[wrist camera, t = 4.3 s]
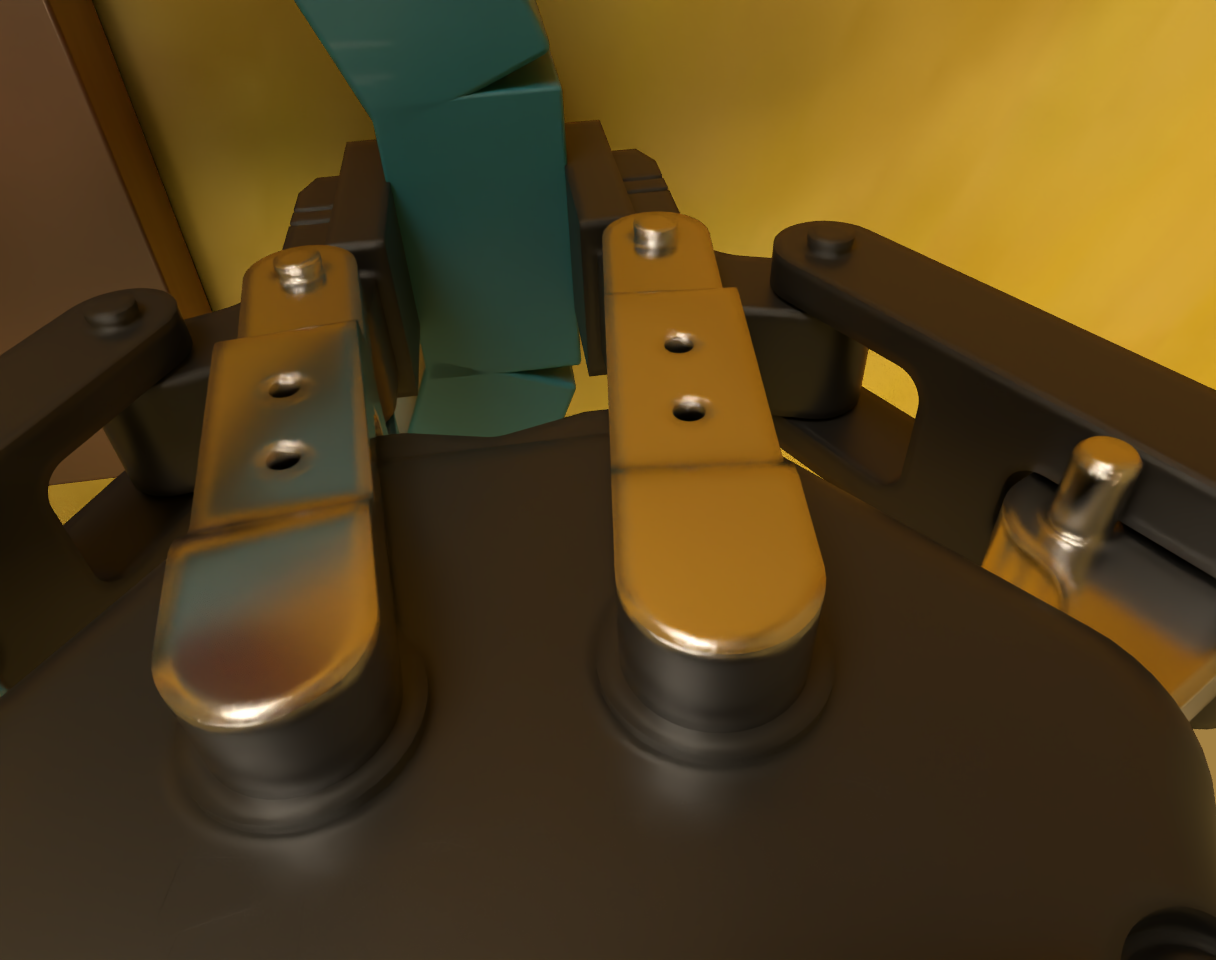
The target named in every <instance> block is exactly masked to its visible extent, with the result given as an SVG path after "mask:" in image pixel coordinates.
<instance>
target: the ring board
mask: <svg viewBox="0 0 1216 960" xmlns="http://www.w3.org/2000/svg"><path fill="white" fill-rule="evenodd" d="M133 288H150V289H157V290H162V291H165V292H167V293H169V294H170V295H172V296H173V297H174V298H175V300H176V301H177V304H178V306H179V309H180V311H181V313H182V316H183V318H184V319H188V318H192V317H196V316H199V315H203V314H207V313H211V312H212V311H211V309H210V306H209V303H208V301H207V298H206V296H205V293H204V290H203V288H202V285H201V283H200V280H199V277H198V275H197V272H196V270H195V267H194V264H193V262H192V259H191V257H190V254H189V251H188V249H187V246H186V244H185V241H184V238H183V236H182V233H181V231H180V228H179V226H178V223H177V220H176V218H175V215H174V213H173V210H172V207H171V205H170V202H169V200H168V197H167V194H166V192H165V189H164V187H163V184H162V181H161V179H160V176H159V174H158V171H157V168H156V166H155V163H154V161H153V158H152V155H151V153H150V150H149V148H148V145H147V143H146V140H145V137H144V135H143V132H142V130H141V127H140V124H139V122H138V119H137V117H136V114H135V111H134V109H133V106H132V104H131V101H130V98H129V96H128V93H127V91H126V88H125V85H124V83H123V80H122V78H121V75H120V72H119V70H118V67H117V65H116V62H115V59H114V57H113V54H112V52H111V49H110V47H109V44H108V41H107V39H106V36H105V34H104V31H103V28H102V26H101V23H100V21H99V18H98V15H97V13H96V10H95V8H94V5H93V2H92V0H0V355H2V354H3V353H5V352H6V351H8V350H9V349H11V348H12V347H14V346H15V345H17V344H18V343H20V342H21V341H23V340H24V339H26V338H27V337H28V336H30V335H31V334H33V333H34V332H36V331H37V330H39V329H40V328H42V327H43V326H45V325H46V324H48V323H49V322H51V321H52V320H54V319H55V318H57V317H58V316H60V315H61V314H63V313H64V312H66V311H67V310H69V309H70V308H72V307H74V306H75V305H77V304H79V303H81V302H83V301H85V300H88V299H91V298H93V297H96V296H99V295H102V294H105V293H109V292H113V291H118V290H124V289H133ZM124 470H125V469H124V467H123V465H122V463H121V461H120V460H119V458H118V456H117V454H116V452H115V450H114V448H113V447H112V445H111V443H110V441H109V439H108V437H107V435H106V434H105V432H104V430H103V428H101V429H100V430H99V431H98V432H97V433H95V434H94V435H93V436H92V437H90V438H89V439H88V440H87V441H86V442H84V443H83V444H82V445H81V446H80V447H78V448H77V449H76V450H75V451H74V452H72V453H71V454H70V455H69V456H67V457H66V458H65V459H64V460H63V461H62V462H61V463H60V464H59V465H58V466H57V467H56V469H55V470H54V472H53V474H52V476H51V478H50V481H49V485H57V484H65V483H73V482H82V481H90V480H98V479H107V478H115V477H118V476H119V475H120V474H121V473H122V472H123V471H124Z"/></svg>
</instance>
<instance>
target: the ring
mask: <svg viewBox="0 0 1216 960" xmlns="http://www.w3.org/2000/svg"><path fill="white" fill-rule="evenodd" d="M294 1H295V3H296V4H297V6H298V8H299V9H300V11H301V12H302V14H303V15H304V17H305V18H306V20H307V21H308V23H309V24H310V26H311V28H312V29H313V31H314V32H315V34H316V35H317V37H318V38H319V40H320V41H321V43H322V44H323V46H324V48H325V49H326V51H327V52H328V54H329V55H330V57H331V58H332V60H333V61H334V63H335V65H336V66H337V68H338V69H339V71H340V72H341V74H342V75H343V77H344V78H345V80H346V81H347V83H348V85H349V86H350V88H351V89H352V91H353V92H354V94H355V95H356V97H357V98H358V100H359V102H360V103H361V105H362V106H363V108H364V109H365V111H366V112H367V114H368V115H369V117H370V118H371V120H372V122H373V126H374V130H375V135H376V140H377V144H378V149H379V154H380V158H381V163H382V168H383V172H384V177H385V181H386V182H390V185H391V190H392V194H393V199H394V204H395V209H396V214H397V218H398V223H399V228H400V233H401V237H402V242H403V247H404V252H405V257H406V261H407V266H408V271H409V276H410V281H411V285H412V290H413V295H414V300H415V305H416V309H417V314H418V319H419V324H420V352H419V384H418V396H410V397H401V398H397V404H396V409H395V411H394V414H395V418H396V421H397V425H398V429H399V434H400V433H416V434H436V435H457V436H478V437H496V436H502V435H506V434H510V433H513V432H517V431H520V430H524V429H527V428H531V427H534V426H537V425H541V424H544V423H548V422H551V421H555V420H558V419H562V418H564V417H565V414H566V412H567V409H568V407H569V404H570V402H571V399H572V397H573V394H574V392H575V390H576V384H575V379H574V374H573V369H572V365H579V364H580V363H581V350H580V336H579V328H578V323H577V319H576V314H575V307H574V293H573V279H572V264H571V250H570V236H569V222H568V208H567V194H566V180H565V165H567V149H566V135H565V121H564V106H563V92H562V87H561V84H560V81H559V78H558V75H557V71H556V68H555V65H554V62H553V59H552V56H551V52H550V47H549V40H548V37H547V34H546V31H545V28H544V25H543V22H542V19H541V16H540V12H539V9H538V6H537V3H536V0H294Z"/></svg>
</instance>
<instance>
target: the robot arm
mask: <svg viewBox="0 0 1216 960" xmlns="http://www.w3.org/2000/svg"><path fill="white" fill-rule="evenodd" d="M565 135H566V149H567V165H565V180H566V194H567V208H568V222H569V236H570V250H571V264H572V279H573V293H574V307H575V314H576V319H577V323H578V328H579V332H580V337H581V341H582V346H583V350H584V355H585V359H586V364H587V368H588V373H589V376H598V375H607V379H608V405H609V409H606V410H598V411H589V412H583V413H579V414H576V415H572V416H569V417H565V418H562V419H558V420H555V421H551V422H548V423H544V424H541V425H537V426H534V427H531V428H527V429H524V430H520V431H517V432H513V433H510V434H506V435H502V436H496V437H478V436H457V435H436V434H416V433H400V434H399V429H398V425H397V421H396V418H395V414H394V411H395V409H396V404H397V398H401V397H410V396H418V384H419V352H420V324H419V319H418V314H417V309H416V305H415V300H414V295H413V290H412V285H411V281H410V276H409V271H408V266H407V261H406V257H405V252H404V247H403V242H402V237H401V233H400V228H399V223H398V218H397V214H396V209H395V204H394V199H393V194H392V190H391V185H390V182H386V181H385V177H384V172H383V168H382V163H381V158H380V154H379V149H378V144H377V140H365V141H354V142H347V143H346V147H345V152H344V156H343V161H342V166H341V170H340V175H339V176H332V177H321V178H316V179H315V180H314V181H313V182H311V183H310V184H309V185H308V186H307V187H306V188H304V189H303V190H302V191H301V192H300V193H299V194H298V197H297V201H296V204H295V208H294V213H293V215H292V218H291V221H290V225H291V226H289V228H288V232H287V235H286V239H285V242H284V246H283V249H282V250H281V251H278V252H275V253H272V254H270V255H268V256H266V257H264V258H262V259H260V260H259V261H257V262H256V263H254V264H253V265H252V266H251V267H250V268H249V269H248V270H247V271H246V273H245V274H244V277H243V283H242V293H241V303H239V304H236V305H234V306H231V307H228V308H225V309H221V310H218V311H214V312H211V313H207V314H203V315H199V316H196V317H192V318H188V319H184V318H183V316H182V313H181V311H180V309H179V306H178V304H177V301H176V300H175V298H174V297H173V296H172V295H170V294H169V293H167V292H165V291H162V290H157V289H150V288H133V289H124V290H118V291H113V292H109V293H105V294H102V295H99V296H96V297H93V298H91V299H88V300H85V301H83V302H81V303H79V304H77V305H75V306H74V307H72V308H70V309H69V310H67V311H66V312H64V313H63V314H61V315H60V316H58V317H57V318H55V319H54V320H52V321H51V322H49V323H48V324H46V325H45V326H43V327H42V328H40V329H39V330H37V331H36V332H34V333H33V334H31V335H30V336H28V337H27V338H26V339H24V340H23V341H21V342H20V343H18V344H17V345H15V346H14V347H12V348H11V349H9V350H8V351H6V352H5V353H3V354H2V355H0V960H1216V804H1215V797H1214V789H1213V782H1212V778H1211V774H1210V771H1209V768H1208V765H1207V761H1206V759H1205V755H1204V752H1203V749H1202V747H1201V745H1200V743H1199V741H1198V739H1197V737H1196V735H1195V733H1194V731H1193V729H1213V728H1216V390H1214V389H1212V388H1210V387H1207V386H1205V385H1203V384H1201V383H1199V382H1197V381H1194V380H1192V379H1190V378H1188V377H1186V376H1184V375H1181V374H1179V373H1177V372H1175V371H1173V370H1171V369H1168V368H1166V367H1164V366H1162V365H1160V364H1158V363H1155V362H1153V361H1151V360H1149V359H1147V358H1145V357H1142V356H1140V355H1138V354H1136V353H1134V352H1132V351H1130V350H1127V349H1125V348H1123V347H1121V346H1119V345H1117V344H1114V343H1112V342H1110V341H1108V340H1106V339H1104V338H1101V337H1099V336H1097V335H1095V334H1093V333H1091V332H1088V331H1086V330H1084V329H1082V328H1080V327H1078V326H1075V325H1073V324H1071V323H1069V322H1067V321H1065V320H1062V319H1060V318H1058V317H1056V316H1054V315H1052V314H1049V313H1047V312H1045V311H1043V310H1041V309H1039V308H1037V307H1034V306H1032V305H1030V304H1028V303H1026V302H1024V301H1021V300H1019V299H1017V298H1015V297H1013V296H1011V295H1008V294H1006V293H1004V292H1002V291H1000V290H998V289H995V288H993V287H991V286H989V285H987V284H985V283H982V282H980V281H978V280H976V279H974V278H972V277H969V276H967V275H965V274H963V273H961V272H959V271H957V270H954V269H952V268H950V267H948V266H946V265H944V264H941V263H939V262H937V261H935V260H933V259H931V258H928V257H926V256H924V255H922V254H920V253H918V252H915V251H913V250H911V249H909V248H907V247H905V246H902V245H900V244H898V243H896V242H894V241H892V240H889V239H887V238H885V237H883V236H881V235H879V234H877V233H874V232H872V231H870V230H868V229H865V228H863V227H860V226H857V225H853V224H849V223H844V222H835V221H813V222H805V223H800V224H796V225H793V226H790V227H788V228H786V229H784V230H783V231H781V232H780V233H779V234H778V235H777V236H776V237H775V239H774V244H773V254H772V258H764V257H749V256H738V255H731V254H726V253H722V252H718V251H715V250H713V245H712V241H711V237H710V233H709V230H708V228H707V227H706V226H705V225H704V224H703V223H702V222H700V221H699V220H697V219H695V218H692V217H690V216H687V215H683V214H680V212H679V210H678V208H677V206H676V204H675V202H674V200H673V197H672V195H671V193H670V191H669V190H668V187H667V185H666V183H665V180H664V178H662V174H661V172H660V170H659V168H658V166H657V163H656V161H655V160H653V159H652V158H650V157H648V156H647V155H645V154H643V153H642V152H640V151H639V150H637V149H628V150H617V151H611V149H610V146H609V143H608V141H607V138H606V135H605V133H604V130H603V128H602V125H601V122H600V120H592V121H581V122H570V123H565ZM868 349H870V350H872V351H874V352H876V353H877V354H879V355H881V356H883V357H884V358H886V359H888V360H890V361H891V362H893V363H895V364H897V365H898V366H900V367H901V368H903V369H904V370H905V371H906V372H907V373H908V374H909V375H910V376H911V378H912V380H913V381H914V383H915V385H916V388H917V391H918V396H919V405H918V410H917V414H916V418H915V419H914V418H913V417H911V416H909V415H908V414H906V413H905V412H903V411H901V410H900V409H898V408H896V407H895V406H893V405H892V404H890V403H888V402H887V401H885V400H883V399H882V398H880V397H878V396H877V395H875V394H874V393H872V392H870V391H869V390H867V389H865V388H864V387H862V386H861V385H862V380H863V375H864V370H865V365H866V359H867V354H868ZM101 428H103V430H104V432H105V434H106V435H107V437H108V439H109V441H110V443H111V445H112V447H113V448H114V450H115V452H116V454H117V456H118V458H119V460H120V461H121V463H122V465H123V467H124V469H125V470H124V471H123V472H122V473H121V474H120V475H119V476H118V477H117V478H115V479H114V480H113V481H112V482H111V483H110V484H109V485H108V486H107V487H105V488H104V489H103V490H102V491H101V492H100V493H99V494H98V495H96V496H95V497H94V498H93V499H92V500H91V501H90V502H89V503H88V504H86V505H85V506H84V507H83V508H82V509H81V510H80V511H79V512H77V513H76V514H75V515H74V516H73V517H72V518H71V519H70V520H69V521H67V522H66V523H65V524H64V525H62V523H61V522H60V520H59V518H58V517H57V515H56V514H55V512H54V511H53V509H52V507H51V505H50V502H49V499H48V486H49V481H50V478H51V476H52V474H53V472H54V470H55V469H56V467H57V466H58V465H59V464H60V463H61V462H62V461H63V460H64V459H65V458H66V457H67V456H69V455H70V454H71V453H72V452H74V451H75V450H76V449H77V448H78V447H80V446H81V445H82V444H83V443H84V442H86V441H87V440H88V439H89V438H90V437H92V436H93V435H94V434H95V433H97V432H98V431H99V430H100V429H101ZM780 448H782V449H783V450H784V451H786V452H787V453H788V454H790V455H791V456H793V457H794V458H795V459H797V460H798V461H799V462H801V463H802V464H804V465H805V466H806V467H808V468H809V469H810V470H812V471H813V472H815V473H816V474H817V475H819V476H820V477H821V478H820V477H818V476H817V475H815V474H813V473H811V472H809V471H808V470H806V469H804V468H802V467H800V466H799V465H797V464H795V463H793V462H791V461H790V460H788V459H786V458H784V457H783V456H782V453H781V450H780ZM822 478H823V479H822Z"/></svg>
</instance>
